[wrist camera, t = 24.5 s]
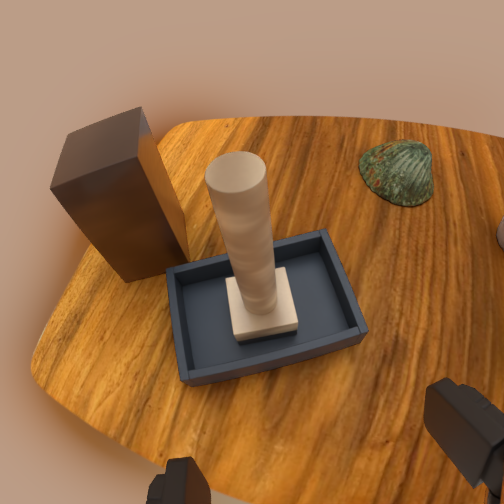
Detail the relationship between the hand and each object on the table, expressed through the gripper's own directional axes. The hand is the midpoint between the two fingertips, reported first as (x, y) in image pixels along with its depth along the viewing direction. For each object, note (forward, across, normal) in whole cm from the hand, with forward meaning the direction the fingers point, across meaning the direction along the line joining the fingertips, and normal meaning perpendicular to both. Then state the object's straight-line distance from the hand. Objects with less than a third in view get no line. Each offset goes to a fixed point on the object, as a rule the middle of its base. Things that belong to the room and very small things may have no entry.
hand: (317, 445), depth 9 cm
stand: (+25, +9, -4) cm, 27 cm away
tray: (+18, 0, +3) cm, 19 cm away
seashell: (+27, -20, -6) cm, 34 cm away
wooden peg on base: (+18, 0, +2) cm, 18 cm away
